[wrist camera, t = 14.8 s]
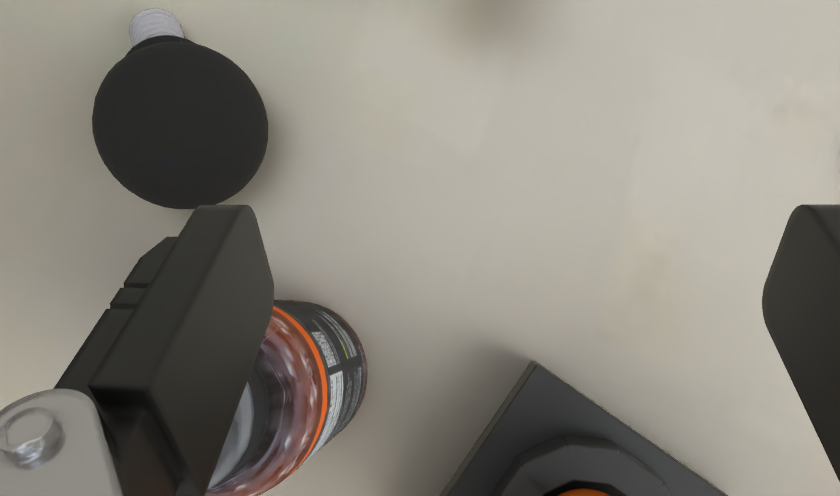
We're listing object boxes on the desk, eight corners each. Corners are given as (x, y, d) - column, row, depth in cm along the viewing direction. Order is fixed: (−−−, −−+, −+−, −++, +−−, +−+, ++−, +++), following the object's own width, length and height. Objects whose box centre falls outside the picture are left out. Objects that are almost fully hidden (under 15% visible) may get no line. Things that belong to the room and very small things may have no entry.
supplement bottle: (205, 394, 27) (8, 448, 16) (281, 274, 27) (140, 244, 16) (321, 474, 26) (200, 592, 15) (398, 351, 26) (336, 374, 15)
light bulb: (146, -80, 25) (201, 90, 20) (254, 20, 30) (319, 173, 25) (36, 22, 26) (62, 204, 21) (158, 100, 32) (201, 259, 27)
